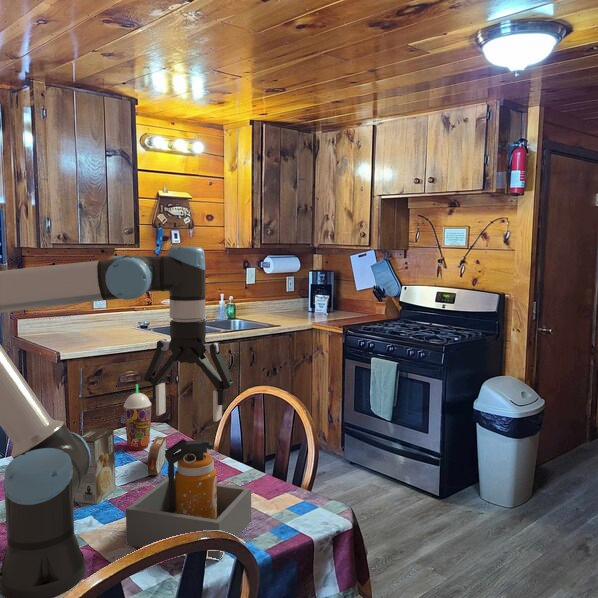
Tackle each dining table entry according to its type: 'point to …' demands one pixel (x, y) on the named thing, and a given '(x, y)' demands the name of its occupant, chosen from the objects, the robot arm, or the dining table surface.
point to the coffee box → (98, 467)
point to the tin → (156, 456)
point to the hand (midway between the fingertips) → (188, 416)
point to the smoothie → (137, 420)
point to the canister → (192, 479)
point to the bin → (185, 516)
